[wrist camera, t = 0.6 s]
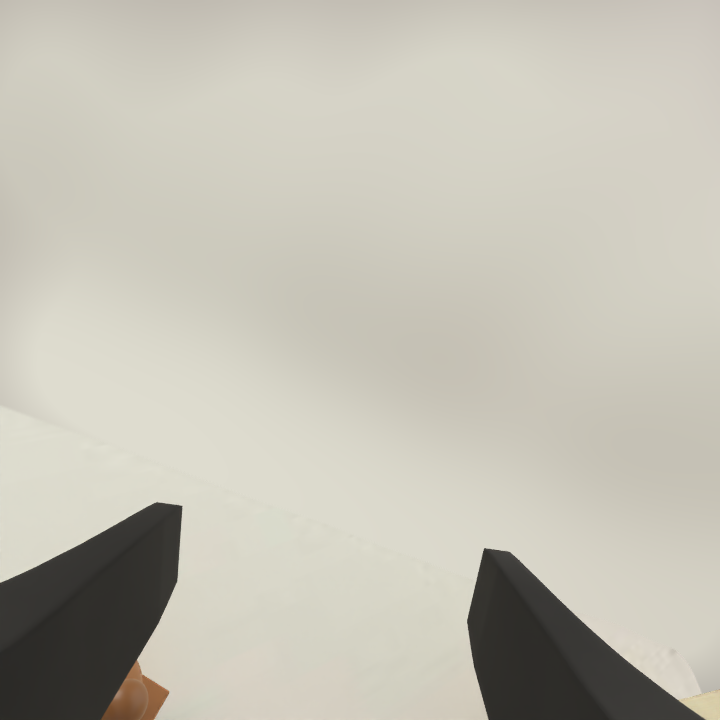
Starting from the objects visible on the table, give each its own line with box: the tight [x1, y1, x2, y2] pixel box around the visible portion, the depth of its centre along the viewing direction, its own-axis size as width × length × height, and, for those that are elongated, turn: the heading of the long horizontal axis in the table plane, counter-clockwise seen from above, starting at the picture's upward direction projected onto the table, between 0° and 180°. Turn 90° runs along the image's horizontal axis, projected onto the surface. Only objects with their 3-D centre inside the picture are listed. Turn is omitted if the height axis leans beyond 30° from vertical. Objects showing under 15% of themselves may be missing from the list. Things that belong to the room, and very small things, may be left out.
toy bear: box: [101, 660, 169, 720], centre depth 17 cm, size 4×5×8 cm
